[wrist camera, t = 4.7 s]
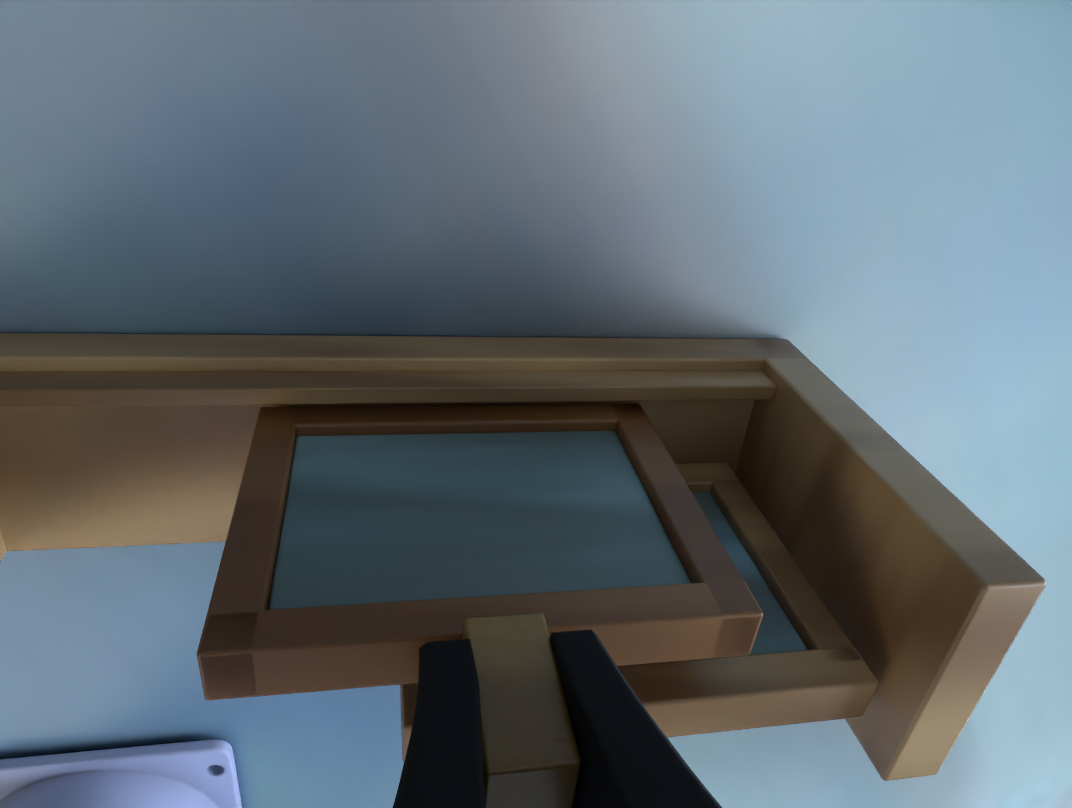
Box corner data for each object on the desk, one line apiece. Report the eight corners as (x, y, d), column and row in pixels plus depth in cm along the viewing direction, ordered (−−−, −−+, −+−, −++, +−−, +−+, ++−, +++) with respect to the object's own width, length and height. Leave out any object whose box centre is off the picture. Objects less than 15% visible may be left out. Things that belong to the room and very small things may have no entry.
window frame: (743, 493, 22) (937, 776, 14) (-29, 521, 18) (-326, 937, 10) (788, 338, 20) (1051, 582, 12) (-96, 330, 15) (-554, 692, 8)
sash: (631, 451, 19) (818, 814, 11) (265, 459, 17) (167, 900, 9) (643, 387, 18) (857, 733, 10) (258, 389, 16) (142, 810, 8)
